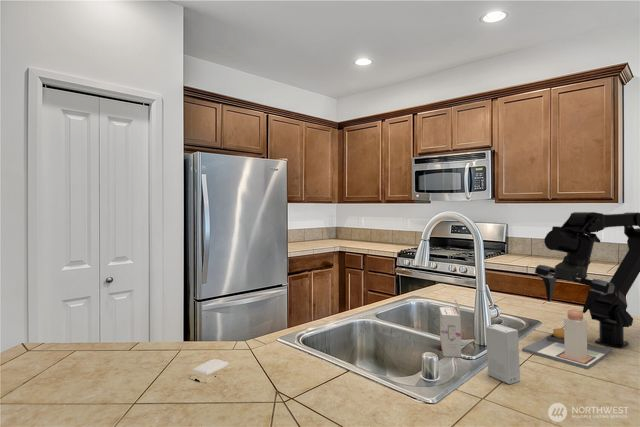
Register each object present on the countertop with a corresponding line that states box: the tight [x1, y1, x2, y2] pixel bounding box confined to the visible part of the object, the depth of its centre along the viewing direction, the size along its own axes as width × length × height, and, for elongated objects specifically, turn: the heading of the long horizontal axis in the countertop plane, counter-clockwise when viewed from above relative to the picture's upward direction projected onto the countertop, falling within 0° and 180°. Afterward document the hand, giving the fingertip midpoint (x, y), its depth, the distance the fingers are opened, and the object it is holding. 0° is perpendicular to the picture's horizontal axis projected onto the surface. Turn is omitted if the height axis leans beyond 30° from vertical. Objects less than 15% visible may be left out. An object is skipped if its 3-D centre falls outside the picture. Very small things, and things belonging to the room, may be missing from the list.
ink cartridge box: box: [439, 297, 462, 358], centre depth 108 cm, size 9×5×15 cm, turn 168°
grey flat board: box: [521, 333, 613, 370], centre depth 107 cm, size 18×16×2 cm
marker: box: [563, 309, 588, 360], centre depth 100 cm, size 4×4×12 cm
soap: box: [191, 358, 230, 375], centre depth 96 cm, size 9×7×3 cm
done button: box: [552, 328, 564, 338], centre depth 113 cm, size 4×4×2 cm
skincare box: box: [485, 323, 521, 385], centre depth 91 cm, size 6×4×12 cm
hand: (565, 307), depth 110 cm, fingers open, 9 cm apart
